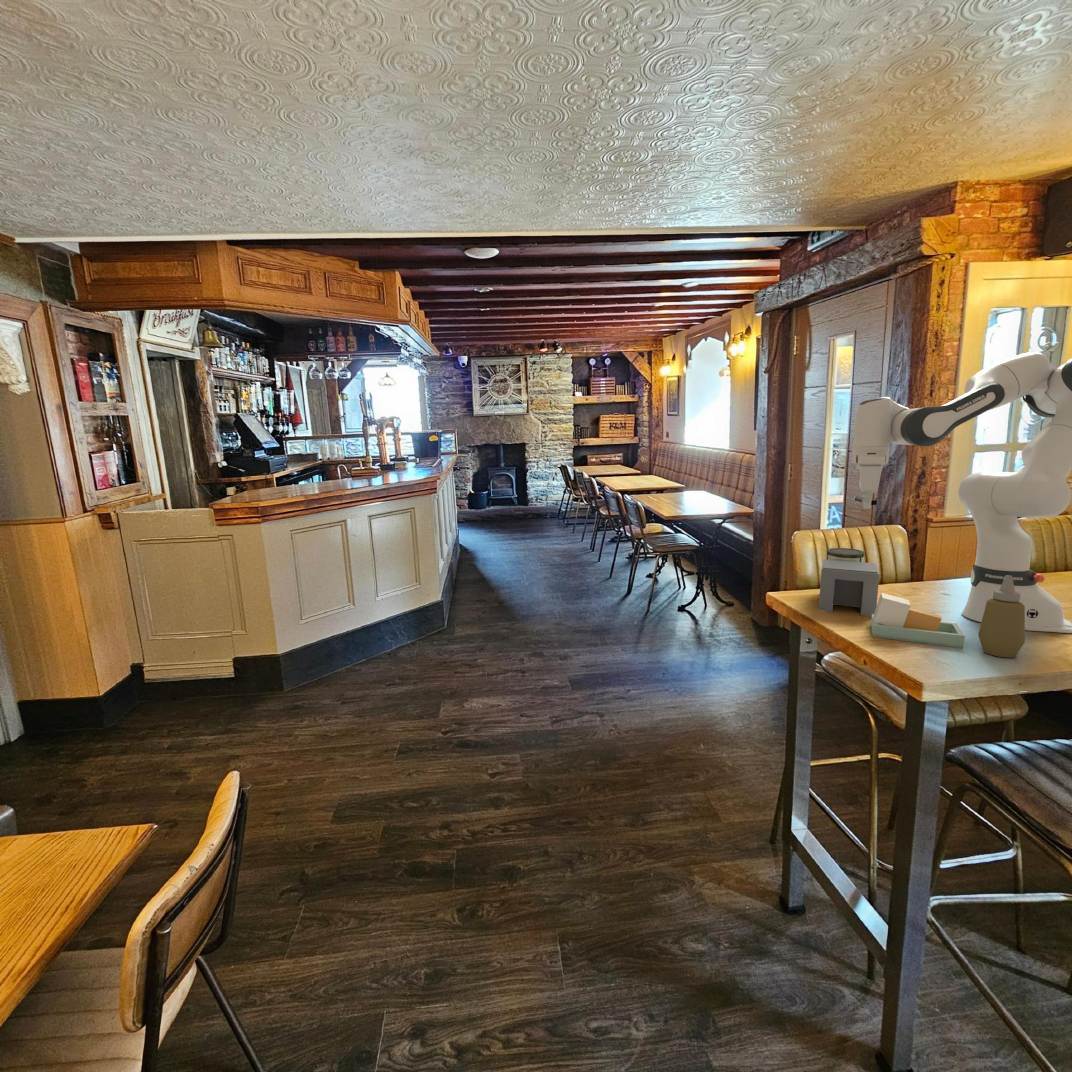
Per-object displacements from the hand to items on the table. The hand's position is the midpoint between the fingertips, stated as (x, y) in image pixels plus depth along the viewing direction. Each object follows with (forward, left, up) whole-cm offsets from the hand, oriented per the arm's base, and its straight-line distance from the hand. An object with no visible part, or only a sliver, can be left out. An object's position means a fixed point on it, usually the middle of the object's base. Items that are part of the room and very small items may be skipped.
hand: (866, 506), depth 159 cm
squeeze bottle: (-27, +28, -29) cm, 49 cm away
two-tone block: (-9, +23, -27) cm, 37 cm away
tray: (-12, +22, -29) cm, 38 cm away
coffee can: (+4, -11, -29) cm, 32 cm away
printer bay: (+3, +2, -29) cm, 29 cm away
